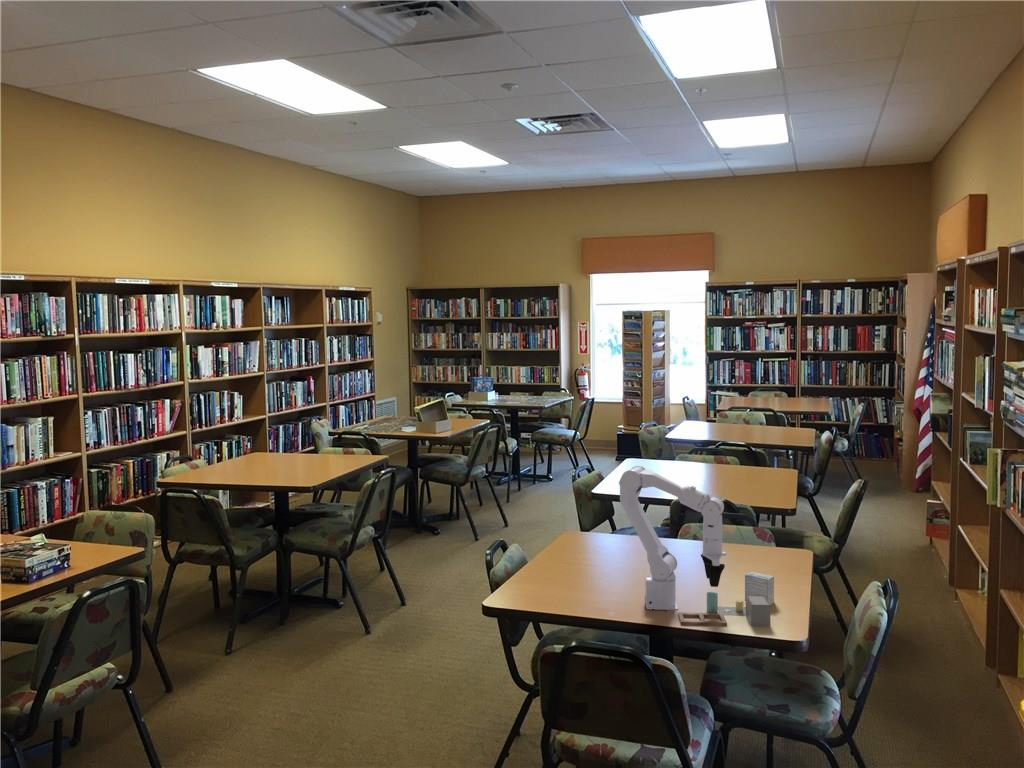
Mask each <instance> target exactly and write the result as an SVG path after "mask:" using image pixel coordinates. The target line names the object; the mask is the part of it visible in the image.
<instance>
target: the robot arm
mask: <svg viewBox="0 0 1024 768" xmlns="http://www.w3.org/2000/svg"><path fill="white" fill-rule="evenodd" d="M618 486H619V501H620V505H621V506H622V508H623V510H624V512H625V513H626V515H627V517H628V519H629V521H630V523H631V525H632V527H633V528H634V530H635V532H636V534H637V536H638V538H639V539H640V542H641V543H642V546H643V547H644V549H645V551H646V557H647V559H646V560H647V563H648V564H649V570H650V574H651V576H648V577H644V578H645V580H644V598H643V599H644V602H645V607H646V610H652V609H654V610H657V611H659V610H660V611H661V610H662V611H666V610H667V611H668V610H669V611H670V610H671V611H678V610H679V607H678V604H677V599H676V597H677V596H676V592H677V591H676V589H677V588H676V587H677V586H676V582H677V579H676V574H675V570H676V569H677V568H678V567H677V566H678V560H677V558H676V557H675V555H673V554H672V553H671V552H670V551H669V550H668V548H667V547H666V546H665V545H664V544H662V542H661V540H660V537H659V536H658V534H657V532H656V531H655V529H654V527H653V525H652V523H651V522H650V519H649V518H648V516H647V514H646V512H645V510H644V509H643V507H642V505H641V503H640V501H639V496H640V493H641V491H642V489H646V488H647V489H648V488H656V489H658V490H660V491H662V492H665V493H667V494H669V495H672V496H674V497H676V498H678V501H679V503H680V504H682V505H683V506H686V507H688V508H690V509H692V510H693V511H696V512H699V513H701V515H702V517H703V518H702V519H703V522H702V552H701V554H700V557H701V559H702V562H703V564H704V565H703V566H704V571H705V576H706V579H708V581H709V585H710V588H712V587H715V588H719V585H720V579H721V575H722V573H723V571H724V569H725V567H726V565H725V564H724V563H720V562H721V559H722V558H723V556H727V552H726V551H723V525H724V524H723V512H724V510H725V504H724V501H723V500H722V499H721V498H719V497H718V496H717V495H713V496H712V495H711V494H710V493H707V494H706V493H704V492H702V491H700V490H698V489H697V487H696V486H694V485H691V486H689V485H686V486H684V487H682V486H681V485H679V484H677V483H675V482H672V481H671V480H669V479H668V478H666V477H663V476H662V475H660V474H658V473H656V472H654V471H653V470H652V469H648V468H645V467H643V466H641V465H635V466H633V467H631V468H630V469H629V470H626V471H624V472H623V473H622V475H621V477H620V479H619V482H618ZM654 610H653V611H654Z"/></svg>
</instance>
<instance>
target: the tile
mask: <svg viewBox="0 0 1024 768" xmlns="http://www.w3.org/2000/svg"><path fill="white" fill-rule="evenodd" d="M718 613H723V615H724V616H745V617H746V606H744V601H743V600H742V599H738V600H735V606H718Z"/></svg>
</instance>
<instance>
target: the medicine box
mask: <svg viewBox="0 0 1024 768" xmlns="http://www.w3.org/2000/svg"><path fill="white" fill-rule="evenodd" d="M746 596H765V598H766V599H767V601H768V602H769V604H770V605H773V604H775V576H773V575H768V574H764V573H759V572H755V571H750V572H748V573H746V574H744V601H745V602H746Z"/></svg>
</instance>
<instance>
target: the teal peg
mask: <svg viewBox="0 0 1024 768" xmlns="http://www.w3.org/2000/svg"><path fill="white" fill-rule="evenodd" d="M718 595H719V594H718V592H716V591H710V590H709V591H707V592H706V613H719V611H718V607H719V605H718V604H719V603H718V601H719V599H718V598H719V597H718Z"/></svg>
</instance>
